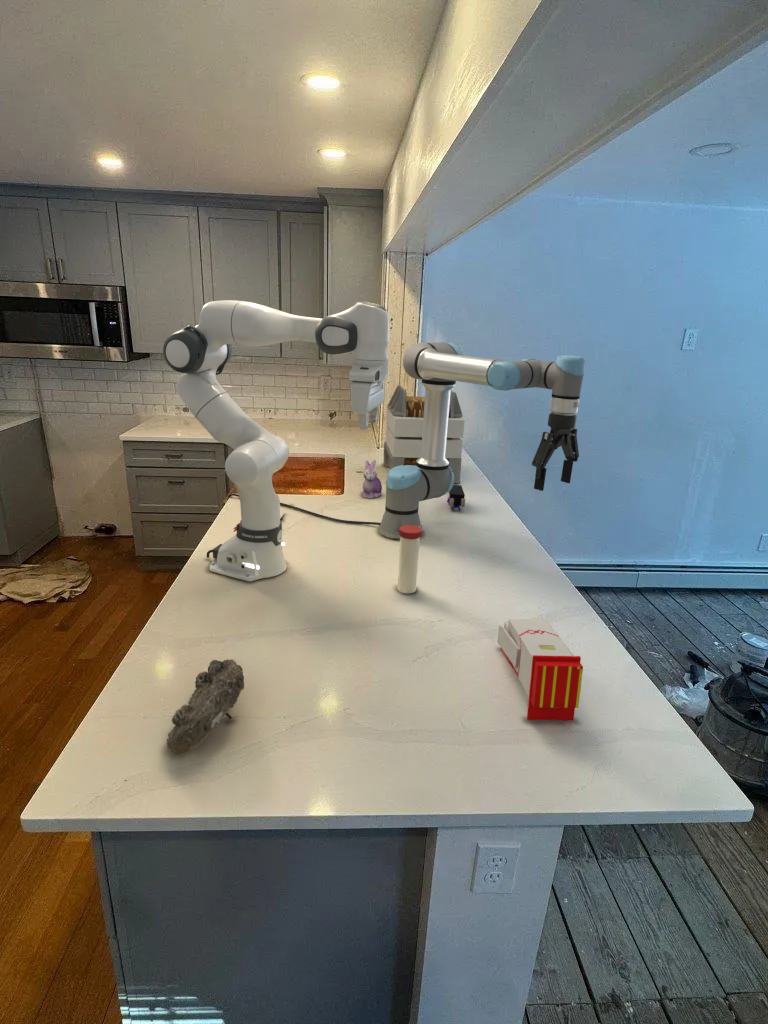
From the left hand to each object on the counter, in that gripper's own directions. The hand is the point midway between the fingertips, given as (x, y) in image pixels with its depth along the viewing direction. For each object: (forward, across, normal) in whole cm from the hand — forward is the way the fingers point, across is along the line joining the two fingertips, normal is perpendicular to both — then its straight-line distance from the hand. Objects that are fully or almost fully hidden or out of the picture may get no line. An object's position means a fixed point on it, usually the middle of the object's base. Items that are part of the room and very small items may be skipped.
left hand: (368, 425), depth 147 cm
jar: (+46, -1, +12) cm, 48 cm away
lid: (+28, -1, +12) cm, 31 cm away
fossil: (+46, +62, -14) cm, 78 cm away
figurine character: (+46, -78, +18) cm, 92 cm away
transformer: (+46, -122, -4) cm, 130 cm away
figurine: (+46, -80, -18) cm, 94 cm away
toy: (+46, +32, +46) cm, 73 cm away
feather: (+46, -44, -42) cm, 76 cm away
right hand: (+18, -25, +50) cm, 58 cm away
